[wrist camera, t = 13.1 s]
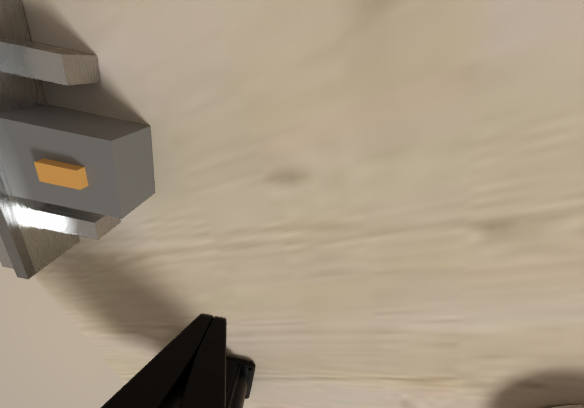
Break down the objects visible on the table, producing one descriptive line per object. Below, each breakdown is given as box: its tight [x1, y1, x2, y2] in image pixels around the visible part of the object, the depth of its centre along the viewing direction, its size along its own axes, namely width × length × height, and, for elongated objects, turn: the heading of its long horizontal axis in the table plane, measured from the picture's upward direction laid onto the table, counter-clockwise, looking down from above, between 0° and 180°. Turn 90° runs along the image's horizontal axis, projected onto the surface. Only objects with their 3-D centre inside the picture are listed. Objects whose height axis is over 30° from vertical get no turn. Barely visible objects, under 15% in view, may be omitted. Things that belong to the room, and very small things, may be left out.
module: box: [0, 105, 155, 219], centre depth 17 cm, size 5×7×5 cm
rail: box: [0, 0, 121, 279], centre depth 17 cm, size 18×6×5 cm, turn 170°
